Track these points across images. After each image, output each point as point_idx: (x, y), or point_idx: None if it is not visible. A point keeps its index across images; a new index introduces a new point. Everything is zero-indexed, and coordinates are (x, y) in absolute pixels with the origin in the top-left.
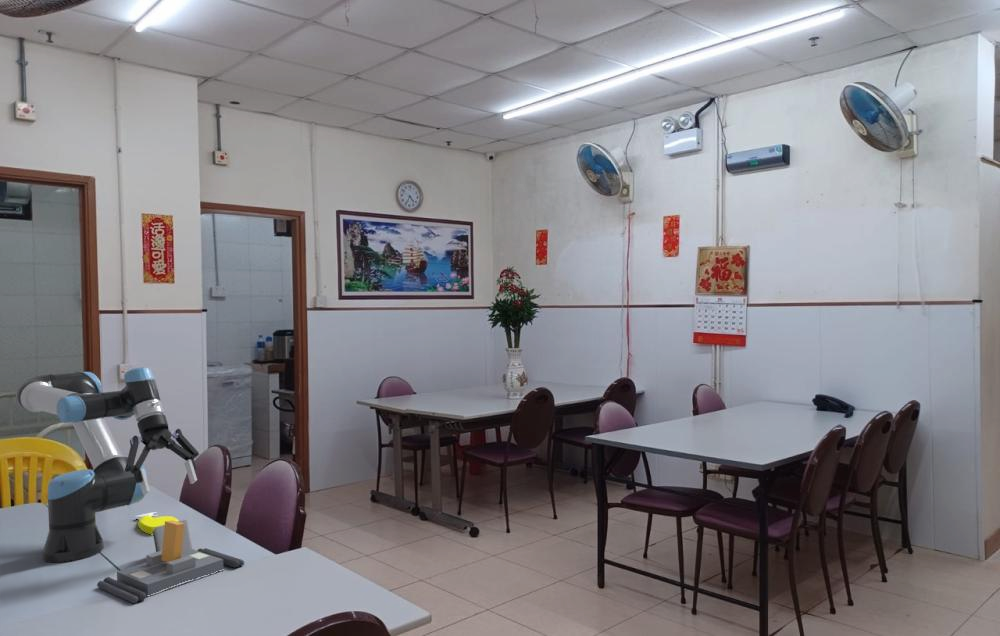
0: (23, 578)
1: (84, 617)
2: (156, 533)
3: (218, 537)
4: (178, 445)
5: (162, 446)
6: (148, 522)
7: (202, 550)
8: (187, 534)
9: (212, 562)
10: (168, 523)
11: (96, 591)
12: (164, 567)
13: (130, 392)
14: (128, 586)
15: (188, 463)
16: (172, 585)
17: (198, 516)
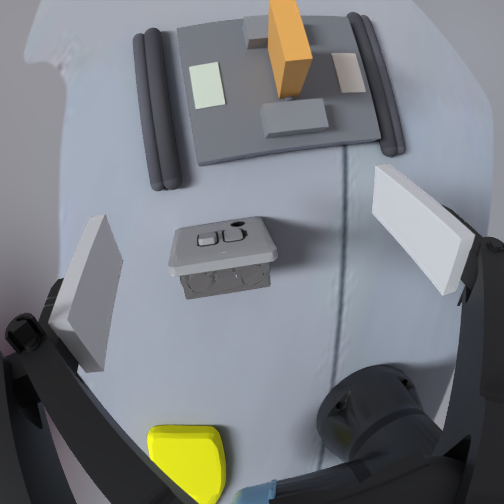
0: (456, 320)
1: (425, 42)
2: (273, 242)
3: None
4: (98, 479)
5: (321, 491)
6: (210, 474)
7: (170, 159)
8: (178, 244)
9: (203, 25)
10: (306, 39)
11: (403, 133)
12: None
13: None
14: (370, 59)
15: (81, 311)
16: None
17: None
